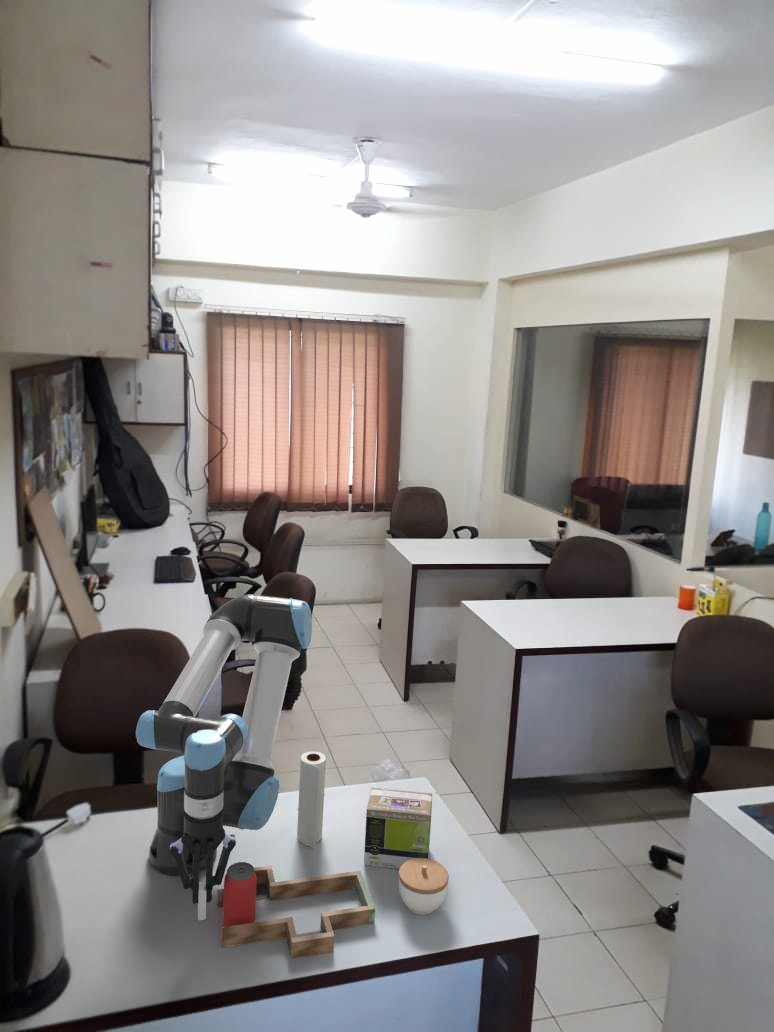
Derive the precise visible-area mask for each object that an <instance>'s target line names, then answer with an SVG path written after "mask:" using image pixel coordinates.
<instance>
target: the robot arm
mask: <svg viewBox="0 0 774 1032" xmlns="http://www.w3.org/2000/svg"><path fill="white" fill-rule="evenodd" d="M312 617H313V616H312V611H311V608H310V606H309V604H308V602H307V601H304V600H300V599H294V598H292V597H290V598H287V597H286V598H285V597H279V596H278V597H276V596H269V595H261V594H259V595H258V594H252V593H250V594H242V595H239V596H237V597H235V598H232V599H230V600H229V601H227V602H225V603H224V604H223V605H221V606H219V607H218V609H217V610H215V611H214V612H213V613H212V615H210V617H209V618H208V619H207V621H206V622H205V624H204V626H203V629H202V637H201V639H200V641H199V642H198V644H197V646H196V648H195V649H194V651H193V653H192V654H191V656H190V658H189V659H188V661H187V663H186V665H185V666H184V667H183V670H182V671H181V673H180V674H179V676H178V678H177V679H176V681H175V683H174V684H173V686H172V688H171V690H170V691H169V693H168V695H167V697H166V698H165V699H164V701H163V703H162V704H161V706H160V707H159V709H158V710H154V709H153V710H151V709H150V710H149V709H148V710H146V711H145V712H143V713H142V714H141V715H140V717H139V719H138V721H137V725H136V729H135V738H136V742H137V743H138V745H139V746H141V747H144V748H147V749H152V750H156V751H158V750H159V751H166V752H174V753H181V754H183V755H181V756H177V757H175V758H172V759H171V760H169V761H167V762H166V763H164V764H163V766H161V768H160V769H159V771H158V775H157V777H158V778H157V784H156V790H157V793H156V794H157V795H156V796H157V797H156V798H157V803H156V804H157V806H156V807H157V824H156V825H157V826H156V830H155V832H154V835H153V837H152V841H151V843H150V846H149V849H148V852H149V853H148V855H149V856H148V860H149V864H150V866H151V867H152V868H153V869H154V870H155V871H157V872H159V873H160V874H164V875H166V876H173V877H174V876H175V877H177V876H178V877H180V880H181V884H182V888H183V889H184V890H185V891H186V890H189V889H190V890H191V892H192V893H191V895H192V896H191V897H192V898H191V899H192V901H191V902H192V904H193V905H197V920H198V921H203V920H206V919H207V903H210V902H212V901H213V889H214V887H216V886H221V885H222V884H223V883H222V882H223V881H224V877H225V874H226V873H225V872H226V869H227V865H228V862H229V860H230V855H231V853H232V851H233V850H234V848H235V847H236V845H237V842H236V835H235V834H234V833H233V834H230V835H229V834H227V833H226V830H225V829H224V827H229V828H236V829H238V830H251V831H258V830H261V829H262V828H263V827H265V826H266V825H267V823H268V822H269V820H270V818H271V816H272V814H273V812H274V809H275V807H276V805H277V804H276V803H277V800H278V797H279V789H280V781H279V779H278V778H277V777H276V776H275V773H276V770H275V767H274V766H273V764H272V762H271V759H272V755H273V750H274V744H275V740H276V735H277V733H278V732H277V731H278V726H279V723H280V718H281V713H282V708H283V704H284V699H285V695H286V690H287V687H288V681H289V677H290V672H291V669H292V663H293V662H294V661H295V660H296V659H298V658H299V657H300V656H301V652H302V649H303V650H305V649H308V648H309V647H310V644H311V641H312V635H313V618H312ZM244 641H248V642H253V645H252V647H253V650H254V651H255V652H256V654H257V656H256V660H255V663H254V667H253V668H254V669H253V672H252V676H251V680H250V685H249V688H248V693H247V696H246V701H245V703H244V704H245V705H244V709H243V714H242V717H241V716H240V715H238V714H235V713H227V714H223V715H221V716H220V717H219V718H217V719H212V718H204V717H198V716H197V714H198V711H199V710H200V708H201V706H202V705H203V703H204V701H205V699H206V697H207V696H208V694H209V692H210V690H211V688H212V687H213V684H214V682H216V679H217V678H218V676H219V674H220V672H221V670H222V669H223V667H224V665H225V663H226V661H227V659H228V658H229V656H230V654H231V652H232V651H233V650H235V649H237V648H239V646H240V644H241V642H244ZM221 843H222V849H221V853H220V856H219V859H218V863H217V866H216V870H215V873H213V872H214V861H215V859H216V857H217V853H218V851H217V850H218V848H219V846H220V845H221ZM203 870H205V881H202V882H200V872H201V871H203ZM190 875H192V876H191V877H192V878H191V877H190Z"/></svg>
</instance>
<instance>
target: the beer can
mask: <svg viewBox="0 0 774 1032" xmlns="http://www.w3.org/2000/svg"><path fill="white" fill-rule="evenodd" d="M254 868H255V867H254V866H253V864H251V863H249V862H246V861H238V862H235V863H232V864H231V865H230V866H229V867H227V868H226V869H227V870H226V873H225V874H224V877H223V889H224V898H223V909H222V923H223V927H228V926H235V925H242V924H248V923H255V922H256V908H257V907H256V905H257V900H256V884H257V877H256V874H255V872H254V870H255V869H254Z"/></svg>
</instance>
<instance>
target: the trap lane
mask: <svg viewBox="0 0 774 1032" xmlns="http://www.w3.org/2000/svg"><path fill="white" fill-rule="evenodd" d="M254 869H255V870H254V872H255V874H256V877H257V884H256V901H257V900H263V899H264V900H265V899H269V902H270V901H271V902H272V901H273V902H274V901H277V900H278V901H279V900H287V899H292V898H299V897H308V896H315V895H321V894H326V893H327V894H328V893H334V892H335V893H336V892H342V891H349V890H355V891H356V894H357V896H358V900H359V901H360V904H361V906H357V907H349V908H343V909H336V910H331V911H330V910H329V911H324V912H321V913H320V930H317V931H310V932H305V933H299V934H297V932H296V928H295V927H296V926H295V923H294V919H293V916H290V917H283V918H277V919H269V920H261V921H255V922H254V923H248V924H242V925H235V926H228V927H225V926H222V927H221V936H220V937H221V939H220V941H221V943H220V944H221V948H226V947H234V946H238V945H239V946H240V945H245V944H251V943H258V942H264V941H266V942H267V941H271V940H277V939H283V938H284V939H285V938H286V941H287V946H288V950H289V954H290V959H296V958H302V957H307V956H309V957H310V956H313V955H319V954H320V955H321V954H326V953H333V952H335V951H334V947H335V933H334V931H336V930H340V929H349V928H354V927H362V926H366V925H367V926H368V925H373V924H374V925H375V921H376V920H375V918H376V907H375V904H374V902H373V899H372V896H371V894H370V892H369V888H368V886H367V884H366V882H365V879H364V876H363V874H362V872H361V870H355V871H347V872H341V873H340V872H339V873H334V874H333V873H331V874H326V875H318V876H317V875H316V876H310V877H305V878H296V879H288V880H280V881H276V879H275V876H274V870H273V866H272V865H270V864H269V865H264V866H257V867H254ZM216 893H217V894H216V896H217V897H216V908H217V909H222V908H223V898H224V888H221V889H220V888H219V889H217V892H216Z"/></svg>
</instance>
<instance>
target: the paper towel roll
mask: <svg viewBox="0 0 774 1032" xmlns="http://www.w3.org/2000/svg"><path fill="white" fill-rule="evenodd" d="M326 764H327V757H326V755H325V754H324V753H323V752H320V751H312V750H311V751H307V752H304V753H302V754H301V756H300V765H299V786H298V789H299V790H298V809H297V810H298V811H297V827H296V828H297V829H296V836H297V839H298V841H300V842H301V843H302V844H304V845H305V846H308V847H311V848H313V849H314V850H315V849H316V843H318V842H319V841H320V840H321V839H322V836H323V826H324V825H323V822H324V804H325V803H324V802H325V785H326V784H325V783H326V766H327V765H326Z"/></svg>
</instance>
